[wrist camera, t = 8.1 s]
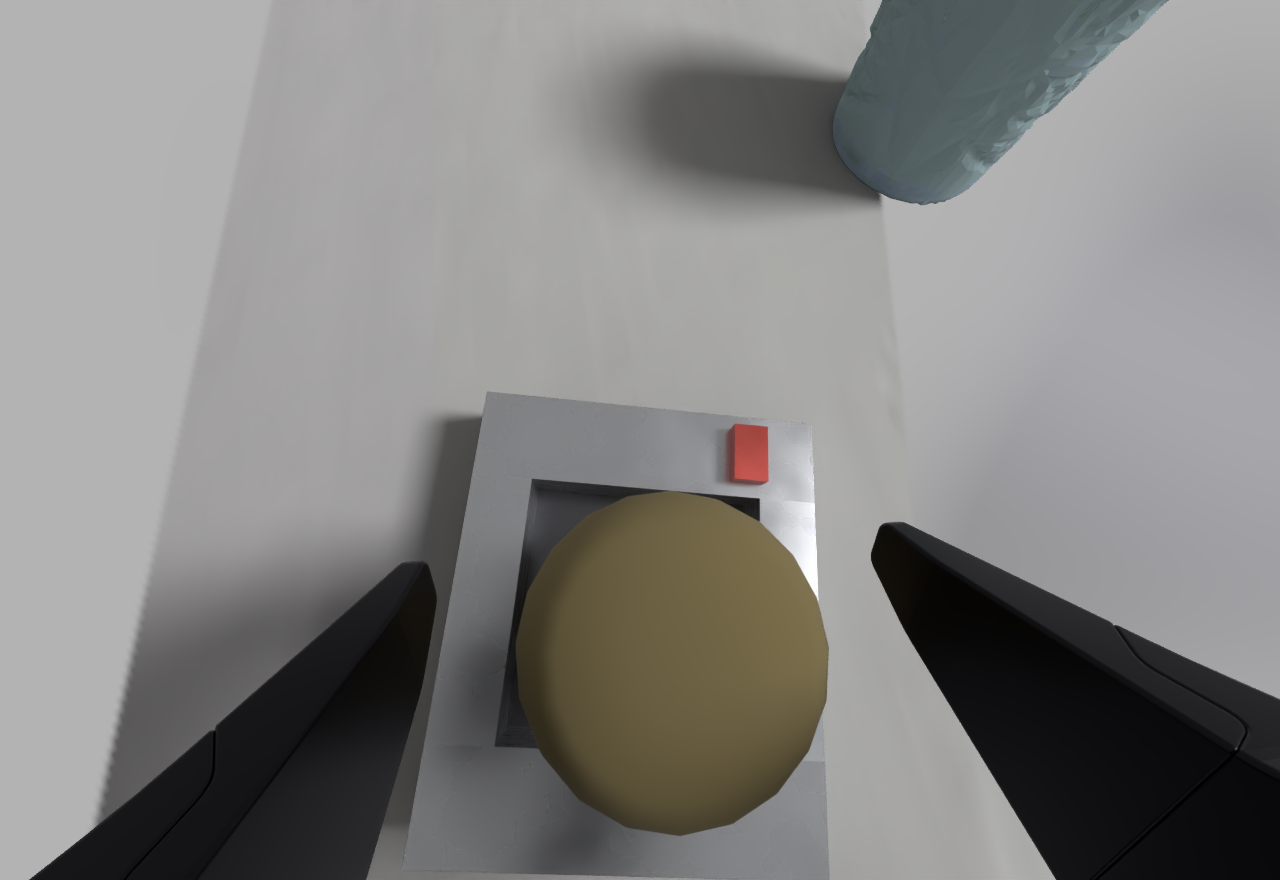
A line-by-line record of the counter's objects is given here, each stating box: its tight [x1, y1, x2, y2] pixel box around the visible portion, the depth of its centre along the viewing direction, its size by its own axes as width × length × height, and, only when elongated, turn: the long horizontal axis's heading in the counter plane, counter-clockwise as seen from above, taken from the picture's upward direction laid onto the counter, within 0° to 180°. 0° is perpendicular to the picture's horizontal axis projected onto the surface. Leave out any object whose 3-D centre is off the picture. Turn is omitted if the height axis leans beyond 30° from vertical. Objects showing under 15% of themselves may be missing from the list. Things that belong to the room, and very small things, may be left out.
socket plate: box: [402, 392, 830, 880], centre depth 16 cm, size 14×12×3 cm
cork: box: [515, 491, 829, 836], centre depth 12 cm, size 6×6×11 cm
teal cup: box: [833, 0, 1168, 205], centre depth 20 cm, size 10×10×12 cm
